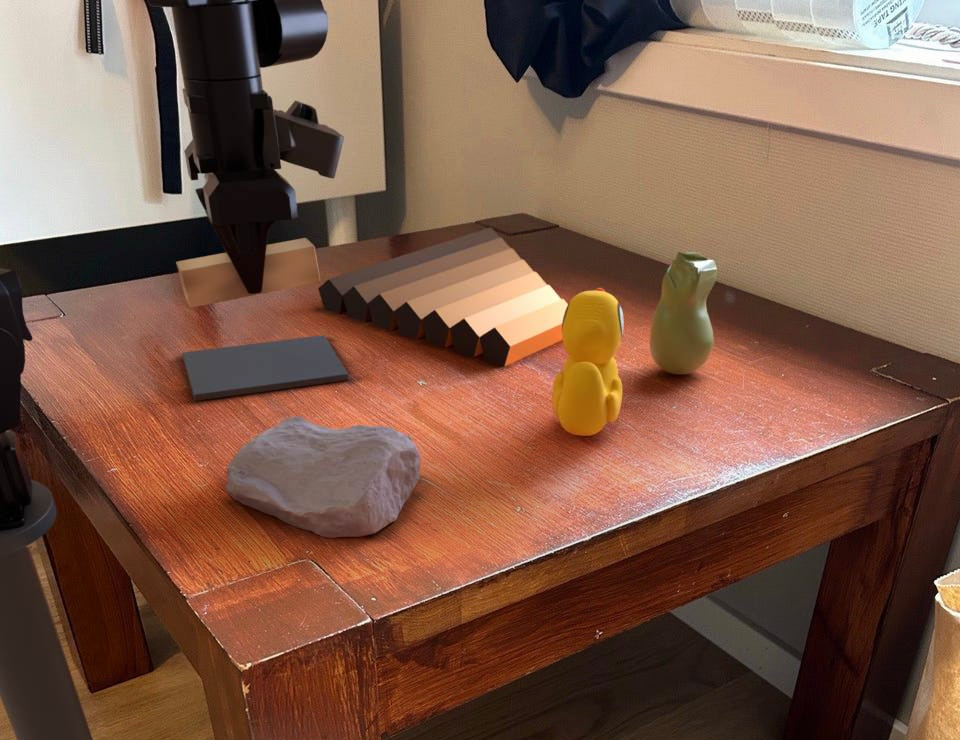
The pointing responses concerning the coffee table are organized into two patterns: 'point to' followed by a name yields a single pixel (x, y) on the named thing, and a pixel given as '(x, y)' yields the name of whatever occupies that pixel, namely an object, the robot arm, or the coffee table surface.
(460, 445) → the coffee table surface
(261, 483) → the stone block
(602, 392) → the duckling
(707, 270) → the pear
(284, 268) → the maple bar
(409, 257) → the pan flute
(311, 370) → the grey mat
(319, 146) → the robot arm
